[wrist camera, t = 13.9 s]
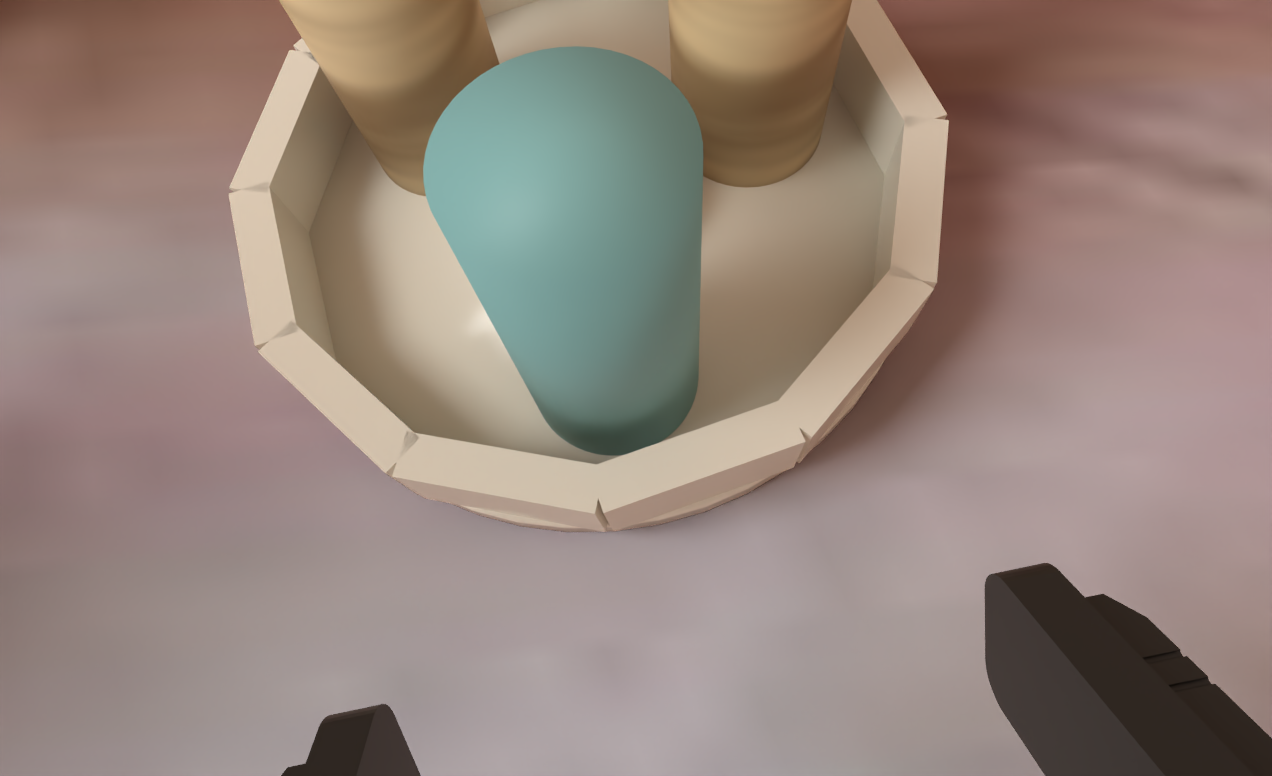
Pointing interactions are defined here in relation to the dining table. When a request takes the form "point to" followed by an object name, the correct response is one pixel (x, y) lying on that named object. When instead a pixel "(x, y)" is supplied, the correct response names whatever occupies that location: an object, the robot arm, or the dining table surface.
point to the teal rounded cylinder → (580, 235)
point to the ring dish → (475, 355)
